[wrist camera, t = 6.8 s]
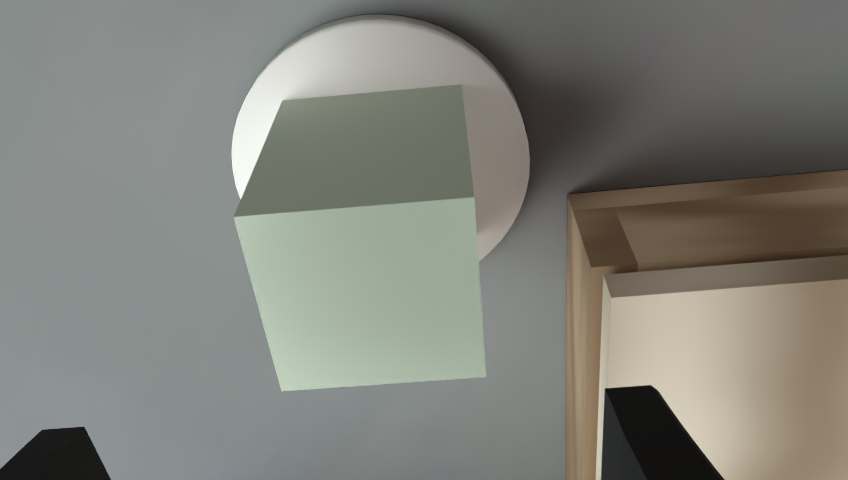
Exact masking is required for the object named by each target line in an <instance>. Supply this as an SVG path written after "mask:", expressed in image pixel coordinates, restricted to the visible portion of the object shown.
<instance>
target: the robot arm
mask: <svg viewBox="0 0 848 480" xmlns="http://www.w3.org/2000/svg"><path fill="white" fill-rule="evenodd" d="M0 480H111V479H110V477H109V475H108V473H107V471H106V469H105V467H104V465H103V463H102V461H101V459H100V457H99V455H98V453H97V451H96V449H95V447H94V445H93V443H92V441H91V439H90V437H89V435H88V433H87V431H86V429H85V427H75V428H61V429H48V430H42V431H41V432H39V433H38V434H37V435H36V436H35V437H34V438H33V439H32V440H31V441H29V442H28V443H27V444H26V445H25V446H24V447H23V448H22V449H21V450H20V451H19V452H18V453H17V454H16V455H15V456H14V457H13V458H12V459H10V460H9V461H8V462H7V463H6V464H5V465H4V466H3V467H2V468H1V469H0ZM601 480H725V479H724V478H723V477H722V476H721V475H720V473H719V472H718V471H717V470H716V468H715V467H714V466H713V464H712V463H711V462H710V461H709V459H708V458H707V457H706V455H705V454H704V453H703V452H702V450H701V449H700V448H699V446H698V445H697V444H696V443H695V441H694V440H693V439H692V437H691V436H690V435H689V433H688V432H687V431H686V429H685V428H684V427H683V425H682V424H681V422H680V421H679V420H678V418H677V417H676V415H675V414H674V413H673V411H672V410H671V408H670V407H669V406H668V404H667V403H666V401H665V400H664V398H663V397H662V395H661V394H660V392H659V391H658V390H657V389H655V388H654V387H653V386H652V385H644V386H631V387H617V388H605V396H604V419H603V442H602V466H601Z"/></svg>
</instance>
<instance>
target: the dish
mask: <svg viewBox="0 0 848 480" xmlns="http://www.w3.org/2000/svg"><path fill="white" fill-rule="evenodd" d="M459 84H461V85H462V94H463V102H464V111H465V120H466V129H467V137H468V146H469V155H470V164H471V172H472V181H473V190H474V199H475V215H476V230H477V245H478V260H479V261H480V260H481V259H482V258H484V257H485V256H486V255H487V254H488V253H489V252H491V251H492V250H493V249H494V247H495V246H496V245H497V244H498V243H499V242H500V241H501V240H502V239H503V238H504V236H505V235H506V233H507V232H508V230H509V229H510V228H511V226H512V225H513V223H514V221H515V219H516V217H517V215H518V213H519V211H520V209H521V206H522V203H523V200H524V198H525V195H526V190H527V185H528V180H529V170H530V155H529V145H528V139H527V135H526V131H525V127H524V123H523V120H522V116H521V112H520V109H519V107H518V104H517V102H516V100H515V97H514V95H513V93H512V91H511V89H510V88H509V86H508V84H507V83H506V81H505V79H504V78H503V76H502V75H501V74H500V73H499V71H498V70H497V69H496V68H495V66H494V65H493V64H492V63H491V62H490V61H489V60H488V59H487V58H486V57H485V56H484V55H483V54H482V53H481V52H480V51H479V50H478V49H476V48H475V47H474V46H472V45H471V44H469V43H468V42H467V41H465V40H464V39H462V38H461V37H459V36H457V35H455V34H453V33H451V32H450V31H448V30H446V29H444V28H442V27H439V26H436V25H433V24H431V23H428V22H425V21H422V20H418V19H413V18H409V17H405V16H396V15H385V14H377V15H359V16H353V17H347V18H342V19H338V20H335V21H332V22H329V23H326V24H322V25H320V26H318V27H316V28H314V29H312V30H310V31H308V32H305V33H303V34H302V35H300V36H299V37H297V38H296V39H294V40H293V41H291V42H290V43H288V44H287V45H286V46H285V47H284V48H282V49H281V50H280V51H279V52H278V53H277V54H276V55H275V56H273V58H272V59H271V60H270V61H269V62H268V64H267V65H266V66H265V67H264V68H263V70H262V71H261V72H260V74H259V76H258V77H257V79H256V80H255V82H254V84H253V85H252V87H251V89H250V91H249V93H248V95H247V97H246V98H245V101H244V103H243V105H242V108H241V110H240V112H239V115H238V118H237V122H236V125H235V129H234V133H233V143H232V168H233V174H234V179H235V184H236V188H237V190H238V193H239V196H240V199H241V198H242V196H243V193H244V191H245V188H246V186H247V184H248V181H249V179H250V176H251V174H252V172H253V169H254V167H255V164H256V162H257V160H258V157H259V155H260V152H261V150H262V148H263V145H264V143H265V140H266V138H267V136H268V133H269V131H270V128H271V126H272V124H273V121H274V119H275V116H276V114H277V112H278V109H279V107H280V104H281V102H282V100H292V99H304V98H315V97H326V96H337V95H348V94H359V93H370V92H381V91H393V90H404V89H415V88H426V87H437V86H448V85H459Z"/></svg>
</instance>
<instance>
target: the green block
mask: <svg viewBox="0 0 848 480" xmlns="http://www.w3.org/2000/svg"><path fill="white" fill-rule="evenodd" d="M234 220H235V224H236V228H237V231H238V235H239V239H240V242H241V246H242V249H243V253H244V257H245V260H246V264H247V268H248V271H249V275H250V278H251V282H252V286H253V289H254V293H255V297H256V300H257V304H258V307H259V311H260V315H261V318H262V322H263V326H264V329H265V333H266V336H267V340H268V344H269V347H270V351H271V355H272V358H273V362H274V365H275V369H276V373H277V376H278V380H279V384H280V387H281V391H292V390H306V389H320V388H335V387H349V386H364V385H378V384H393V383H407V382H421V381H436V380H450V379H465V378H479V377H486V366H485V351H484V335H483V320H482V305H481V290H480V275H479V260H478V245H477V230H476V215H475V199H474V190H473V181H472V172H471V164H470V155H469V146H468V137H467V129H466V120H465V111H464V102H463V94H462V85H461V84H459V85H448V86H437V87H426V88H415V89H404V90H393V91H381V92H370V93H359V94H348V95H337V96H326V97H315V98H304V99H292V100H282V102H281V104H280V107H279V109H278V112H277V114H276V116H275V119H274V121H273V124H272V126H271V128H270V131H269V133H268V136H267V138H266V140H265V143H264V145H263V148H262V150H261V152H260V155H259V157H258V160H257V162H256V164H255V167H254V169H253V172H252V174H251V176H250V179H249V181H248V184H247V186H246V188H245V191H244V193H243V196H242V198H241V200H240V203H239V205H238V208H237V210H236V212H235V215H234Z"/></svg>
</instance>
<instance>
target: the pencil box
mask: <svg viewBox="0 0 848 480" xmlns="http://www.w3.org/2000/svg"><path fill="white" fill-rule="evenodd" d="M842 255H848V170H840V171H829V172H818V173H806V174H795V175H783V176H772V177H761V178H749V179H738V180H726V181H715V182H704V183H692V184H681V185H669V186H658V187H647V188H635V189H624V190H612V191H601V192H590V193H578V194H567V365H566V480H596V456H597V430H598V403H599V377H600V350H601V324H602V297H603V275H608V274H621V273H633V272H645V271H657V270H670V269H682V268H694V267H707V266H719V265H731V264H743V263H756V262H768V261H780V260H792V259H805V258H817V257H829V256H842Z"/></svg>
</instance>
